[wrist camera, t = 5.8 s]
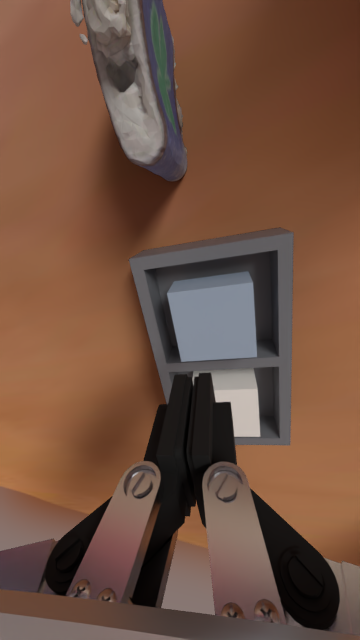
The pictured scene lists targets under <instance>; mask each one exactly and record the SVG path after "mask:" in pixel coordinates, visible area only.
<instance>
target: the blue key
mask: <svg viewBox="0 0 360 640" xmlns="http://www.w3.org/2000/svg"><path fill="white" fill-rule="evenodd" d="M167 296H168V300H169V305H170V310H171V315H172V319H173V324H174V329H175V334H176V338H177V343H178V348H179V353H180V357H181V362H186V361H202V360H218V359H235V358H251V357H257V346H256V327H255V309H254V291H253V281H252V279H251V276H250V274H249V272H248V271H247V272H239V273H232V274H224V275H217V276H210V277H202V278H195V279H187V280H180V281H174V282H173V284H172V286H171V287H170V289H169V291H168V292H167Z"/></svg>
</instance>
